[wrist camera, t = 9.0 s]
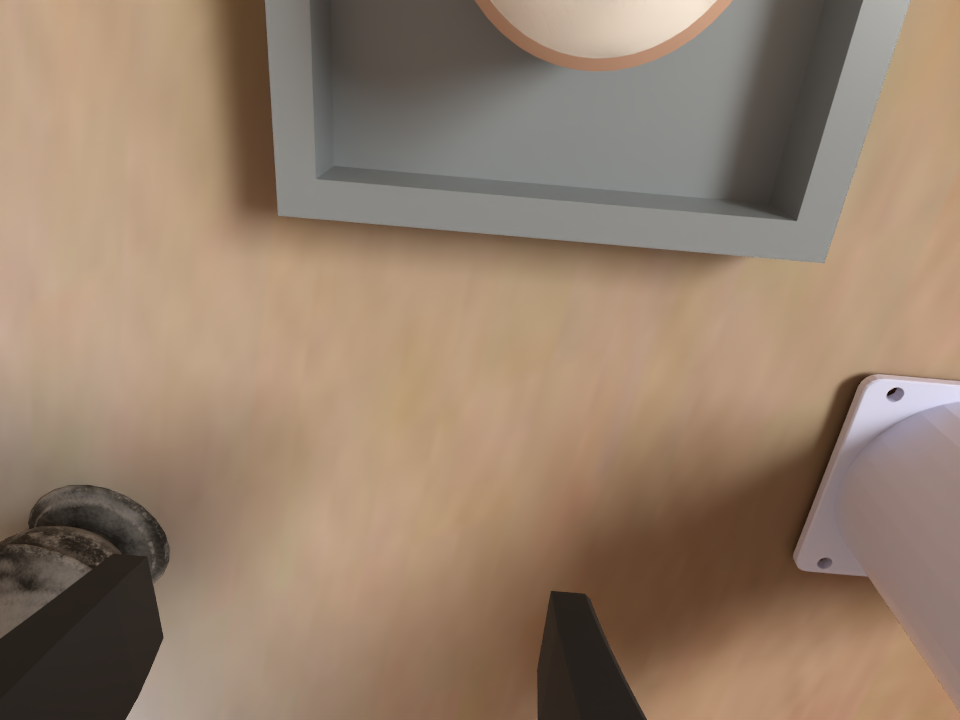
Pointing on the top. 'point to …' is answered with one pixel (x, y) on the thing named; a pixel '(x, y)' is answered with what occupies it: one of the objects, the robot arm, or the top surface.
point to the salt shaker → (72, 546)
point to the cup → (601, 28)
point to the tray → (578, 125)
